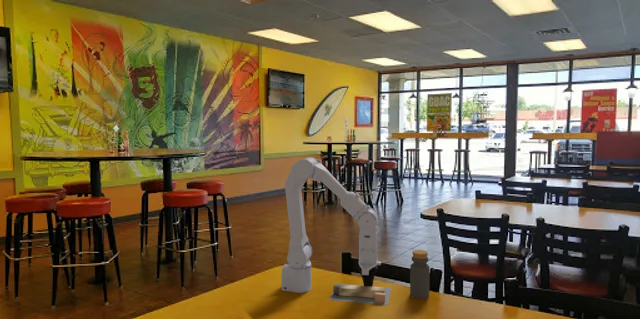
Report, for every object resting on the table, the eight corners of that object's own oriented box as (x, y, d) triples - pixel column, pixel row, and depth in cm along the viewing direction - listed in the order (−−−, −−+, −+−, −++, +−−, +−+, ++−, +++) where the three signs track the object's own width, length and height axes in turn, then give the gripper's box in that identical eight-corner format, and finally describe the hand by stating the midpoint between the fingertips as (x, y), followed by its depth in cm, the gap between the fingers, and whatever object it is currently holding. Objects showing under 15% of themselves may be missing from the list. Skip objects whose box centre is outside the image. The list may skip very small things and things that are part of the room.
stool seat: (328, 303, 133) (328, 299, 133) (337, 286, 147) (337, 283, 147) (387, 309, 129) (387, 305, 129) (391, 291, 143) (391, 287, 142)
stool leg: (332, 294, 136) (332, 287, 136) (334, 291, 139) (334, 284, 139) (384, 298, 133) (384, 290, 133) (384, 294, 136) (384, 287, 136)
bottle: (429, 303, 133) (430, 255, 132) (410, 301, 134) (410, 254, 133) (428, 295, 139) (429, 249, 138) (410, 294, 140) (410, 248, 139)
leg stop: (374, 301, 131) (374, 294, 131) (375, 299, 133) (375, 292, 133) (384, 302, 131) (384, 295, 130) (385, 300, 132) (385, 293, 132)
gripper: (378, 255, 129) (378, 299, 130) (383, 242, 143) (383, 282, 144) (354, 253, 131) (355, 297, 132) (361, 241, 145) (362, 281, 146)
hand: (368, 289), depth 138 cm, fingers closed
